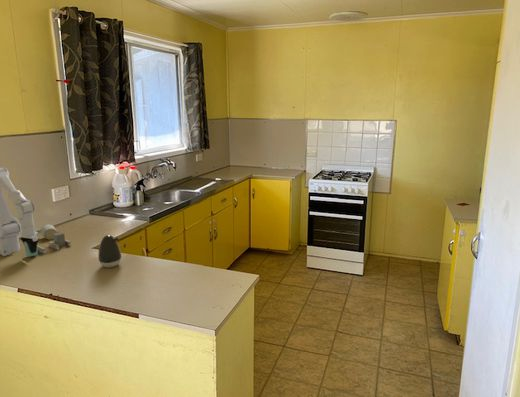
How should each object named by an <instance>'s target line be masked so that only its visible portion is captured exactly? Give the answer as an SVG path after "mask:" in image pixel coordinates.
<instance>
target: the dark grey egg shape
mask: <svg viewBox="0 0 520 397" xmlns="http://www.w3.org/2000/svg"><path fill="white" fill-rule="evenodd" d="M118 240H119V237H114V236H112V235H110V234H106V235H104V236H103V238H102V239H101V241H100V243H99V248H98V262H99V263H100V265H101V266H102V267H104V268H115V267H117V266H118V265H119V264H120V263H121V259H122V253H121V249H120V246H119V243H118V242H117V241H118Z"/></svg>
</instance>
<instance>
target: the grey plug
mask: <svg viewBox="0 0 520 397" xmlns="http://www.w3.org/2000/svg"><path fill="white" fill-rule="evenodd" d="M58 232H59V233H55V234H53V238H54V239H53V243H55V244H57V245H58V246H59V248H60V247H64V246H66V244H65V239H66V237H65V233H63V232H61V231H58Z"/></svg>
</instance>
